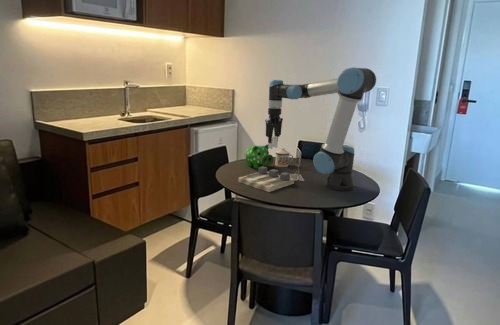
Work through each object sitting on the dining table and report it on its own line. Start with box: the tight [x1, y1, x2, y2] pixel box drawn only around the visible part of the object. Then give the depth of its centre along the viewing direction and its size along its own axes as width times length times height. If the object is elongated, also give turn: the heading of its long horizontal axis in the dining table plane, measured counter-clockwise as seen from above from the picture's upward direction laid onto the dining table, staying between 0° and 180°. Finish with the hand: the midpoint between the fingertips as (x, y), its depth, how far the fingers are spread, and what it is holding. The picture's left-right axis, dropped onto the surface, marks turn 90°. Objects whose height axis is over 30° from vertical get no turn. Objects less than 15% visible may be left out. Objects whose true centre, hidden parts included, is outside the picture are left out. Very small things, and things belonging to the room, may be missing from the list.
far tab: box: [257, 166, 268, 174], centre depth 213 cm, size 4×4×3 cm
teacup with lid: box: [274, 147, 294, 168], centre depth 240 cm, size 12×9×12 cm
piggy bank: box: [244, 143, 274, 170], centre depth 234 cm, size 14×18×15 cm
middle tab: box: [268, 169, 279, 177], centre depth 208 cm, size 4×4×3 cm
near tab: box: [279, 172, 291, 180], centre depth 203 cm, size 4×4×3 cm
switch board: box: [237, 171, 295, 193], centre depth 205 cm, size 22×22×3 cm
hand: (272, 147), depth 216 cm, fingers open, 4 cm apart
